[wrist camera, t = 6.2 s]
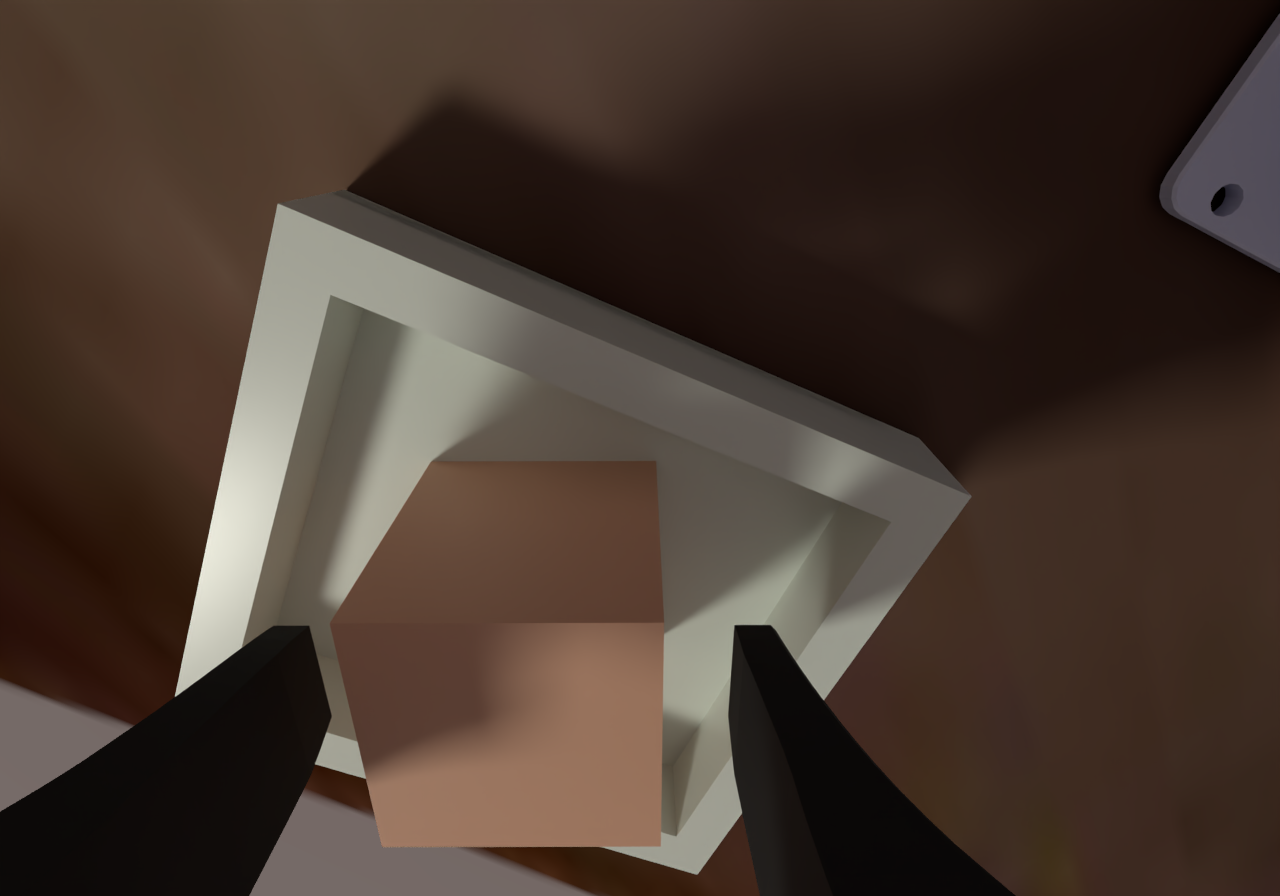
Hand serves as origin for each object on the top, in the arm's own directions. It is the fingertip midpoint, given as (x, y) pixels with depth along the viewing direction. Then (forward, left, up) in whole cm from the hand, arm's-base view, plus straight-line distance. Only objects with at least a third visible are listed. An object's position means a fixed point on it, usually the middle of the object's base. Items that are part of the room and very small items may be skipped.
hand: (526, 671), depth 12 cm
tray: (0, 0, -4) cm, 4 cm away
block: (0, 0, -3) cm, 3 cm away
